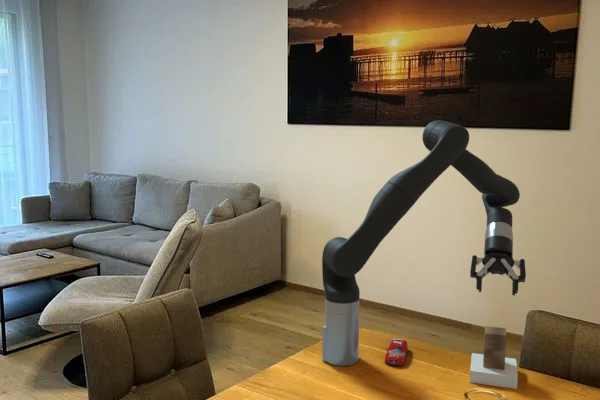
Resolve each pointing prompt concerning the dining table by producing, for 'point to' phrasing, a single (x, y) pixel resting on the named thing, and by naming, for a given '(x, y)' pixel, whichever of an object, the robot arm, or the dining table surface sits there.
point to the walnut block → (494, 348)
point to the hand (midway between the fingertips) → (496, 292)
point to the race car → (396, 352)
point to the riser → (493, 373)
